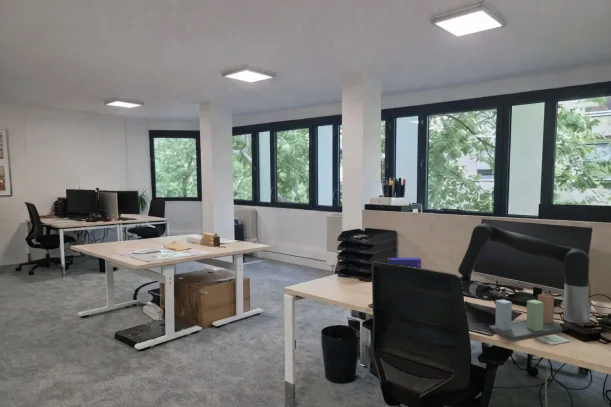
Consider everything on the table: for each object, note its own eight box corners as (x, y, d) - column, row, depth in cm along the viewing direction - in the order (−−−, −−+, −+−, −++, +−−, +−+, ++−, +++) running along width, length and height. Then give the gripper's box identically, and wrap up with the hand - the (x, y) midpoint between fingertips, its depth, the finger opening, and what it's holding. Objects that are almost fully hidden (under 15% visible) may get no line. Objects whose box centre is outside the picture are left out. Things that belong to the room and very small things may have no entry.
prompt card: (554, 335, 168) (554, 333, 168) (570, 341, 162) (570, 340, 162) (536, 338, 165) (536, 337, 165) (551, 345, 159) (551, 343, 159)
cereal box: (419, 300, 220) (419, 257, 219) (421, 302, 215) (421, 259, 214) (387, 299, 222) (387, 257, 220) (388, 302, 217) (388, 259, 216)
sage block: (534, 326, 175) (534, 299, 174) (543, 329, 170) (543, 302, 170) (526, 327, 173) (526, 300, 172) (535, 331, 169) (535, 303, 168)
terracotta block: (544, 318, 183) (545, 293, 182) (553, 322, 179) (553, 296, 178) (537, 320, 182) (537, 294, 181) (545, 323, 178) (546, 297, 177)
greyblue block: (503, 325, 176) (503, 299, 175) (511, 329, 172) (511, 302, 171) (495, 327, 174) (495, 300, 174) (503, 330, 170) (503, 303, 170)
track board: (542, 320, 186) (542, 317, 186) (568, 330, 174) (568, 326, 173) (489, 329, 176) (489, 326, 176) (512, 340, 164) (512, 336, 164)
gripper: (470, 285, 200) (496, 293, 183) (491, 282, 204) (519, 290, 187) (470, 299, 200) (496, 309, 184) (491, 296, 204) (519, 306, 188)
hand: (508, 300), depth 186 cm, fingers closed
